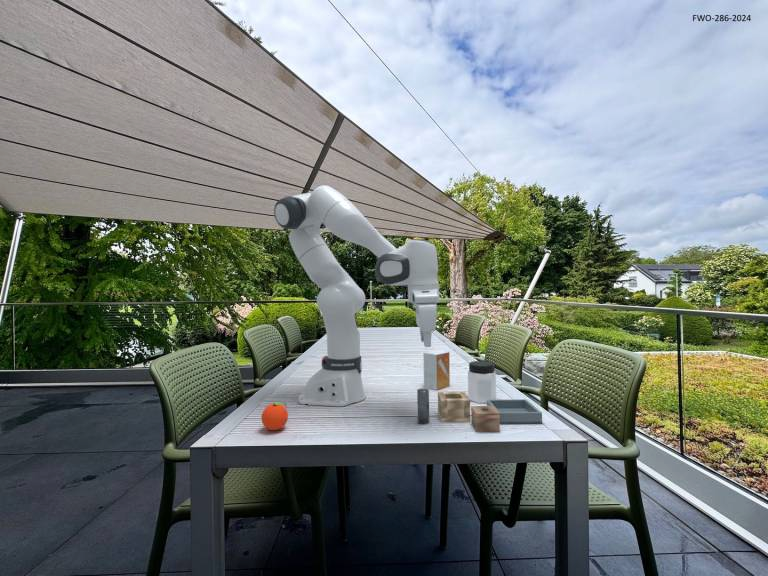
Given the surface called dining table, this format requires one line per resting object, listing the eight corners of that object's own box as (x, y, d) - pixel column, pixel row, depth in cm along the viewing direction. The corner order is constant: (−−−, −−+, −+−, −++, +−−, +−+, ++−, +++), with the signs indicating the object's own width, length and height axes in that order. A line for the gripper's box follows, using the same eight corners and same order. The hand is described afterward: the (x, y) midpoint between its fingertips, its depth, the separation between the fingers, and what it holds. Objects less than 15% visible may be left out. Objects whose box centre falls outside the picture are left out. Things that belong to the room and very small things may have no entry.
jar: (501, 401, 122) (500, 364, 122) (481, 405, 118) (481, 367, 118) (482, 394, 130) (482, 359, 130) (463, 397, 127) (463, 362, 126)
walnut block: (476, 433, 97) (475, 413, 97) (471, 424, 103) (471, 405, 103) (500, 432, 97) (499, 413, 97) (493, 424, 103) (493, 405, 103)
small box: (437, 390, 136) (436, 354, 135) (423, 387, 140) (422, 352, 140) (450, 386, 141) (449, 351, 141) (436, 383, 146) (436, 349, 146)
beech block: (441, 422, 105) (441, 400, 105) (438, 412, 113) (437, 392, 113) (470, 421, 104) (470, 400, 104) (464, 412, 112) (464, 392, 112)
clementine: (278, 421, 107) (277, 397, 107) (296, 426, 103) (296, 400, 103) (255, 431, 100) (255, 405, 100) (274, 436, 96) (274, 409, 96)
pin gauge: (418, 424, 103) (417, 391, 103) (417, 420, 106) (416, 388, 106) (429, 424, 103) (429, 391, 103) (428, 420, 106) (428, 388, 106)
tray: (497, 424, 102) (497, 413, 102) (486, 409, 114) (486, 399, 114) (542, 423, 102) (542, 412, 102) (526, 409, 114) (526, 399, 114)
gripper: (410, 295, 118) (412, 339, 118) (415, 297, 97) (417, 350, 97) (430, 294, 118) (432, 338, 118) (439, 295, 97) (441, 349, 97)
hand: (425, 344), depth 107 cm, fingers open, 8 cm apart
